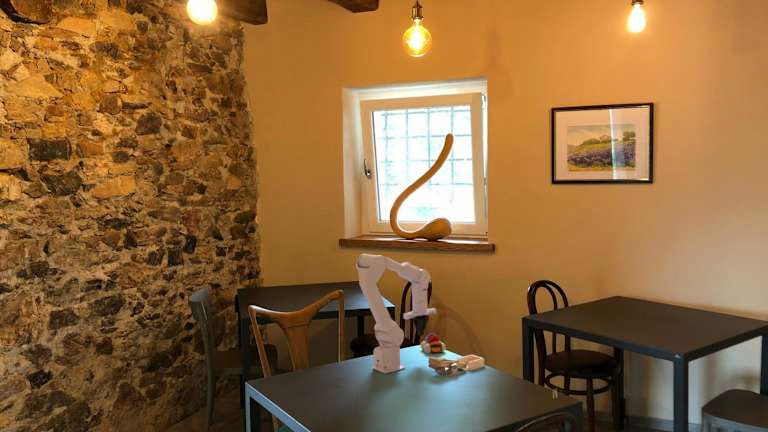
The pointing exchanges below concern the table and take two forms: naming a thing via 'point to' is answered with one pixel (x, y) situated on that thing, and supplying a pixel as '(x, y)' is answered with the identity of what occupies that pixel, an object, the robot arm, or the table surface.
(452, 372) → the mount
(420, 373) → the table surface
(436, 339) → the colorful rounded pieces cluster
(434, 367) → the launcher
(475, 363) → the tan shallow rectangular box
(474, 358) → the ball
